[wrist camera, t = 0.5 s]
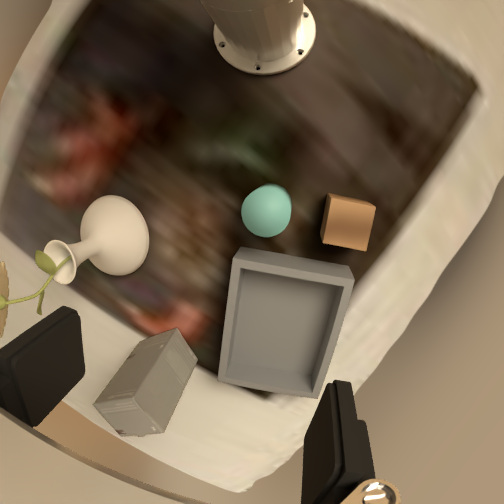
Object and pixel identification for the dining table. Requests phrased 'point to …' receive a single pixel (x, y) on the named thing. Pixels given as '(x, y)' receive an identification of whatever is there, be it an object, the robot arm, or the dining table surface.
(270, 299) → the tote
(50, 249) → the flower in vase
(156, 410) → the skincare box
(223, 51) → the robot arm
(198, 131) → the dining table surface
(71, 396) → the dining table surface
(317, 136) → the dining table surface
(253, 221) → the mint rounded capsule part
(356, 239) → the walnut cube
